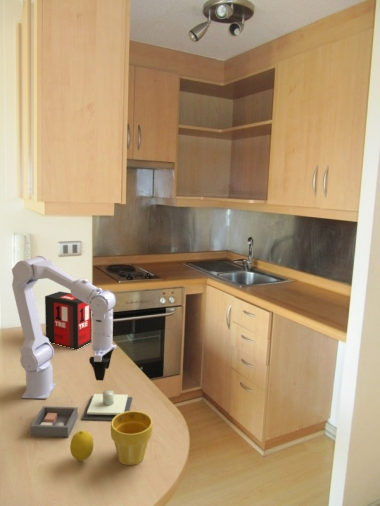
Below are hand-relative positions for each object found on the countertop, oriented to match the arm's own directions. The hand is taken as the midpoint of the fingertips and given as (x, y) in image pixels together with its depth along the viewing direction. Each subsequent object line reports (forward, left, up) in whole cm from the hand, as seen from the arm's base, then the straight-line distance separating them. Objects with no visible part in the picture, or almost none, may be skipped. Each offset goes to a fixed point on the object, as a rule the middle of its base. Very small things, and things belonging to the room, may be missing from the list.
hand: (102, 373), depth 129 cm
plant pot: (+24, +12, -11) cm, 29 cm away
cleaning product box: (-48, -24, -11) cm, 55 cm away
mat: (+2, +2, -10) cm, 11 cm away
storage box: (+12, -11, -10) cm, 19 cm away
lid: (+2, +2, -10) cm, 10 cm away
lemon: (+26, 0, -11) cm, 28 cm away
